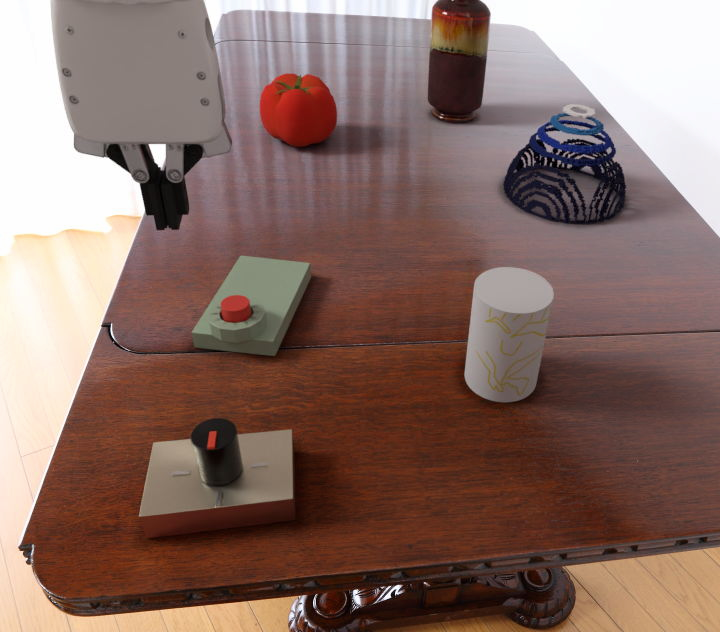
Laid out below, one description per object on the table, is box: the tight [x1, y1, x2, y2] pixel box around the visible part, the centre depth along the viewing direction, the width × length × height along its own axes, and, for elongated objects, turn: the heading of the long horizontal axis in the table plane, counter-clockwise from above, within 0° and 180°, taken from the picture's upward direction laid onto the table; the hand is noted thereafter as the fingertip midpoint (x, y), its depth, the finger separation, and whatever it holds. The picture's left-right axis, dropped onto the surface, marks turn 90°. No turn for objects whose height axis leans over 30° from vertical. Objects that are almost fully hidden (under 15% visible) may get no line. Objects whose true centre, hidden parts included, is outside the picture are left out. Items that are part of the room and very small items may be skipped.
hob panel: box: [138, 428, 296, 540], centre depth 60 cm, size 12×8×3 cm, turn 103°
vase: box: [427, 0, 492, 124], centre depth 130 cm, size 11×11×26 cm
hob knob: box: [190, 417, 243, 485], centre depth 57 cm, size 4×4×5 cm
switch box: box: [191, 255, 312, 357], centre depth 80 cm, size 17×9×4 cm, turn 177°
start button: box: [221, 295, 251, 323], centre depth 74 cm, size 3×3×2 cm
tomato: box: [259, 73, 338, 148], centre depth 119 cm, size 14×13×10 cm
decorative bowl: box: [502, 103, 627, 225], centre depth 110 cm, size 20×20×14 cm
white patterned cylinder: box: [464, 266, 555, 403], centre depth 73 cm, size 8×8×12 cm
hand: (170, 221), depth 54 cm, fingers closed
